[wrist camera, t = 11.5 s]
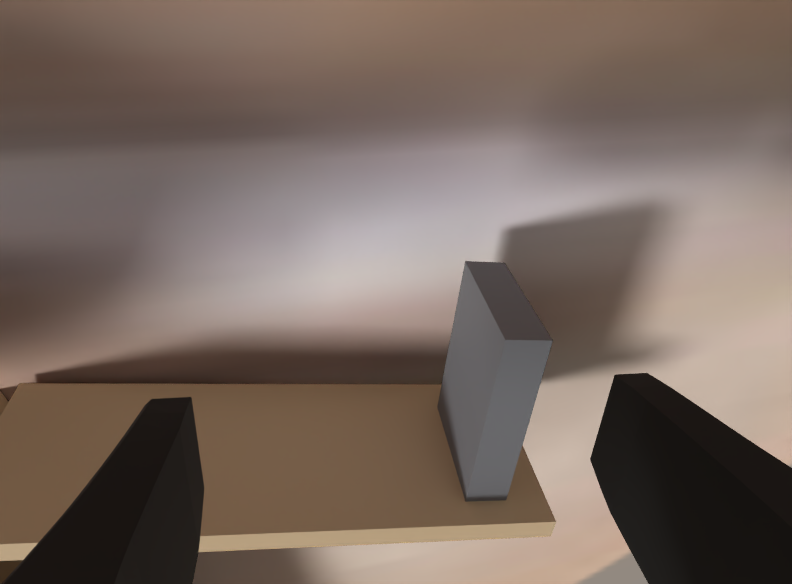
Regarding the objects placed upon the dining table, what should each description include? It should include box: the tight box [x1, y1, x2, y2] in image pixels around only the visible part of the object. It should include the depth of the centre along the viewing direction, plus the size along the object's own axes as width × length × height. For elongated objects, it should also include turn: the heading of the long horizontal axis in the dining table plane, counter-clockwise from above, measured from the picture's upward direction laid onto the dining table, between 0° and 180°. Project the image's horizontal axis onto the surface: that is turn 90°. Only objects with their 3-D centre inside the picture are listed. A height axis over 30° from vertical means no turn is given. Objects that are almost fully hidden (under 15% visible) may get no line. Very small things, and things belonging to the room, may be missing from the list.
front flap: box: [0, 261, 556, 561], centre depth 17 cm, size 16×6×6 cm, turn 83°
